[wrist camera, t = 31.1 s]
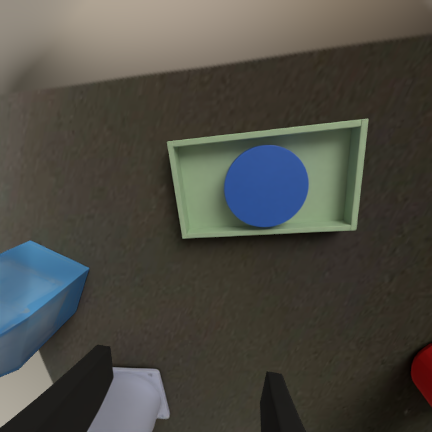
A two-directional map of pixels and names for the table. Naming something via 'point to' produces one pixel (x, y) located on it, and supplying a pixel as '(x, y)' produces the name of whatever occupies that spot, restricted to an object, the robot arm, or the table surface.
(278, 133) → the tray
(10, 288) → the perfume bottle
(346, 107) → the table surface
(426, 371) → the soda can
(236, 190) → the lid
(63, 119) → the table surface
